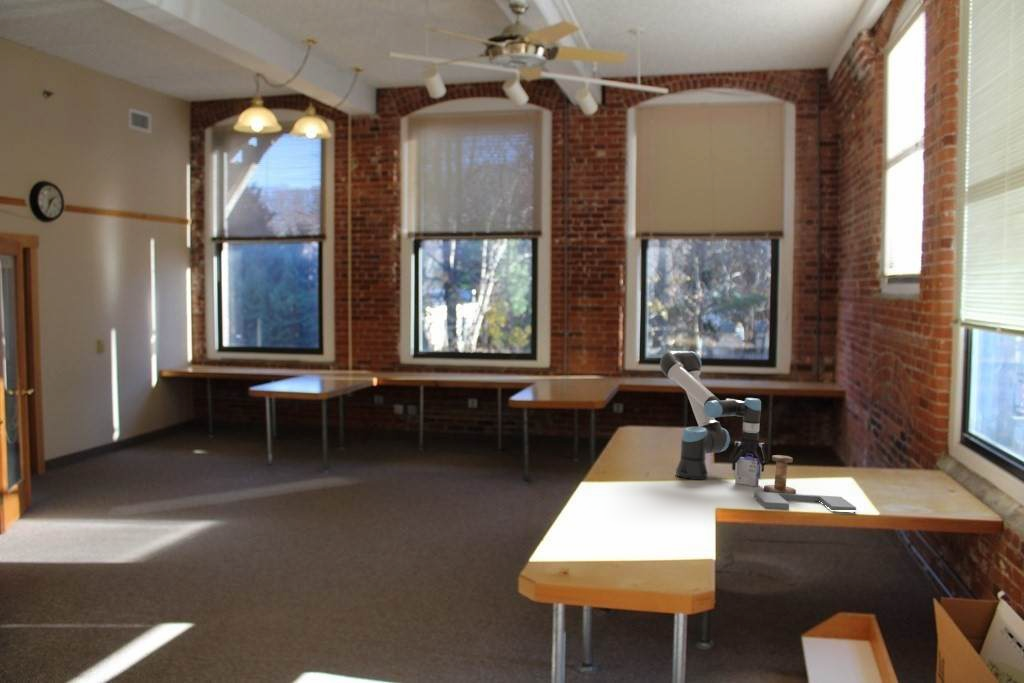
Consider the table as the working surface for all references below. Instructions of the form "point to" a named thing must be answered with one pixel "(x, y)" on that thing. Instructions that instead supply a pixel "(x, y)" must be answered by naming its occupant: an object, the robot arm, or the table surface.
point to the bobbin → (780, 476)
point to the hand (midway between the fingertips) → (747, 477)
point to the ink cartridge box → (748, 470)
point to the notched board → (780, 500)
